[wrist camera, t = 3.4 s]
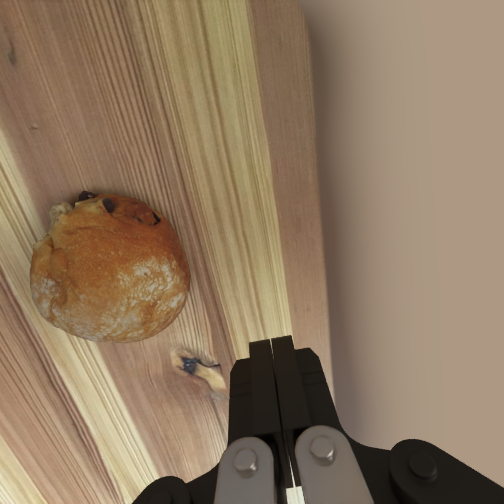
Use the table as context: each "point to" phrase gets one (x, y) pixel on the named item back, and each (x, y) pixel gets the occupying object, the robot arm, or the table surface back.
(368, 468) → the robot arm
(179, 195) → the table surface
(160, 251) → the bread roll
